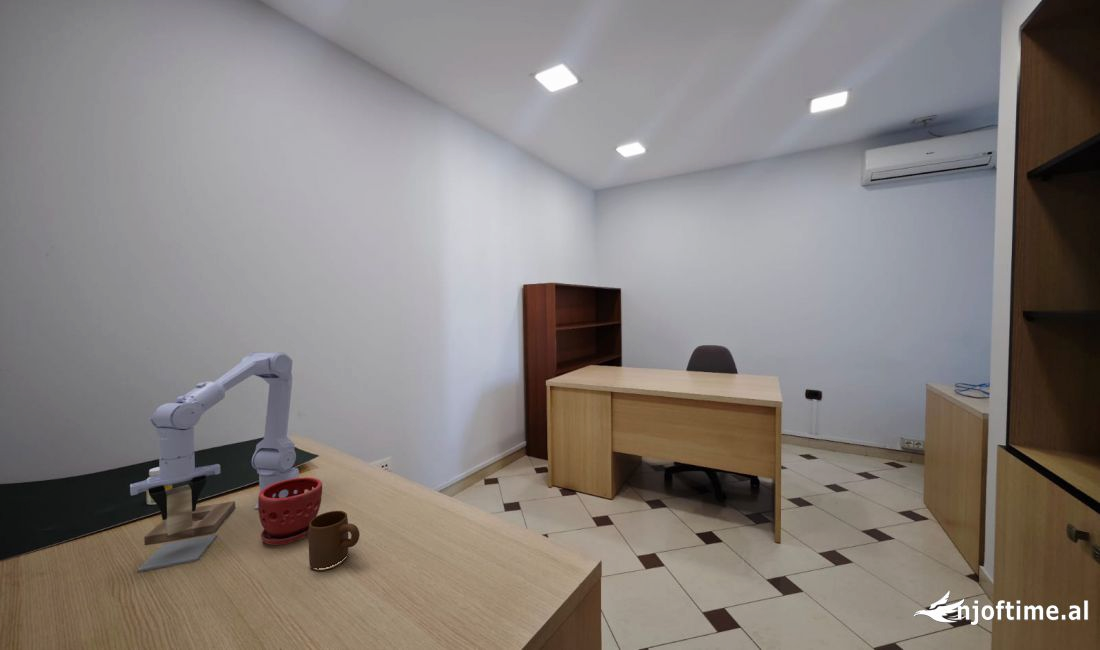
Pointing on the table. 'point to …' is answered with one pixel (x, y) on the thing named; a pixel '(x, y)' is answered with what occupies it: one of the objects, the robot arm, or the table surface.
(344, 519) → the mug
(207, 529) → the brown square hole board
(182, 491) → the maple plug
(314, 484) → the plant pot
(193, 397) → the robot arm
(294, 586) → the table surface
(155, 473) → the supplement bottle
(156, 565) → the pad
